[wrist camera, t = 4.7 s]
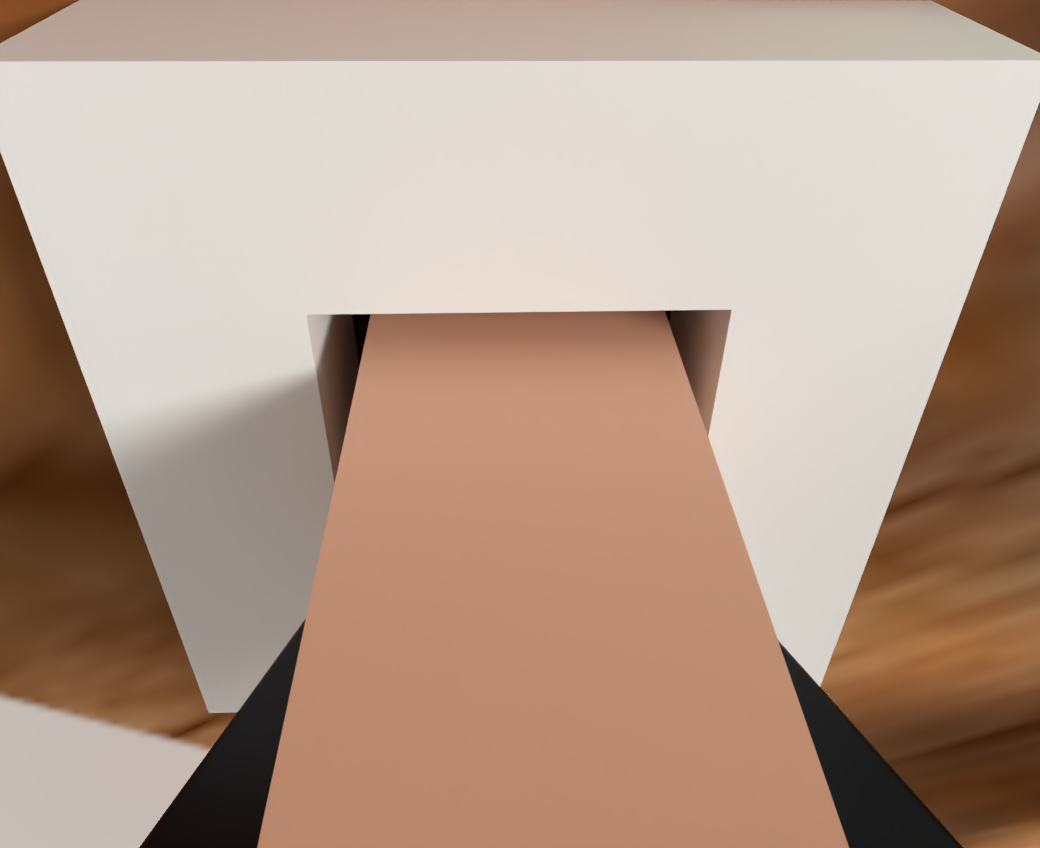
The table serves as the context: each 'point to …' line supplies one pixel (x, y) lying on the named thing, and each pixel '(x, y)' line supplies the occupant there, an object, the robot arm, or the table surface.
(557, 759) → the plug
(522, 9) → the white square frame
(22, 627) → the table surface
